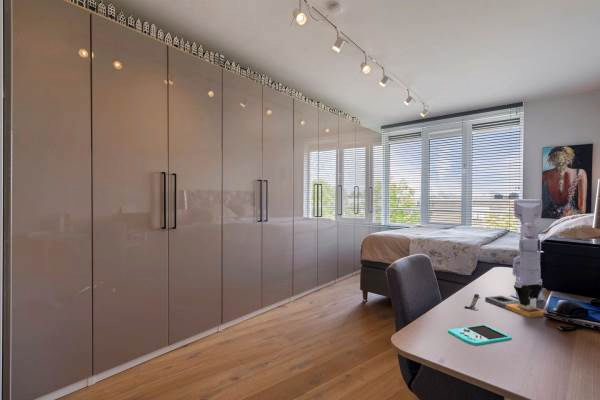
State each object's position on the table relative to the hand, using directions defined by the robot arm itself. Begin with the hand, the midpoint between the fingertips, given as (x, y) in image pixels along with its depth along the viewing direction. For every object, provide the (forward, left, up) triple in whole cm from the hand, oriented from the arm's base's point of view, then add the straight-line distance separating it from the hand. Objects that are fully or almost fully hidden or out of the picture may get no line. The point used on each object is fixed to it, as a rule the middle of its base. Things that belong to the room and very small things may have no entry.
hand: (528, 303), depth 117 cm
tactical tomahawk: (+10, -14, -4) cm, 18 cm away
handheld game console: (+35, +10, -4) cm, 37 cm away
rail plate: (0, -6, -3) cm, 6 cm away
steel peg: (0, 0, -3) cm, 4 cm away
